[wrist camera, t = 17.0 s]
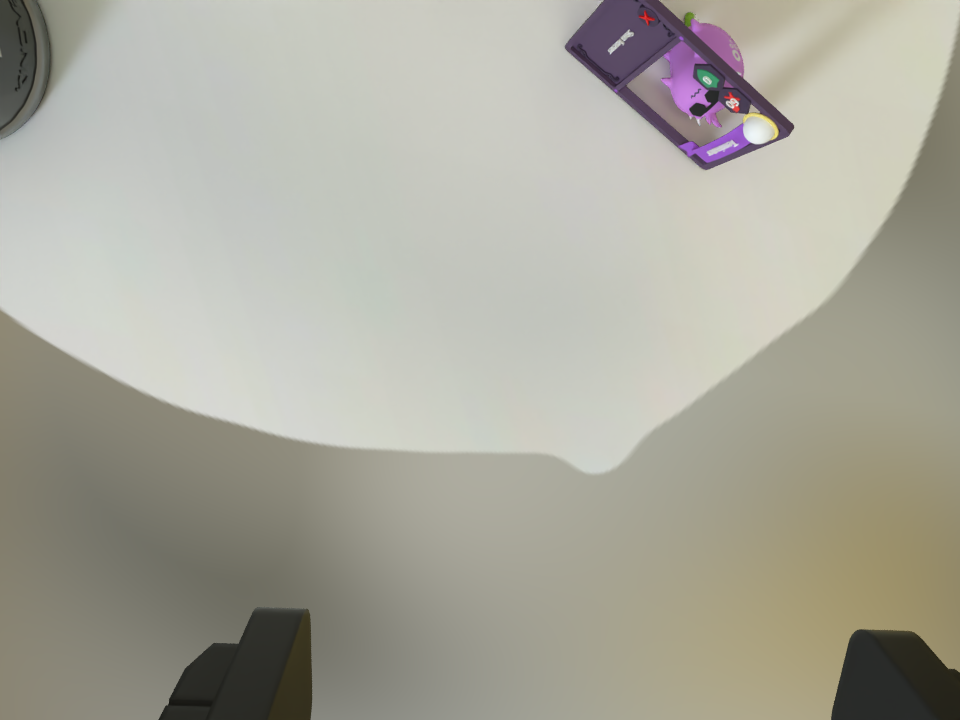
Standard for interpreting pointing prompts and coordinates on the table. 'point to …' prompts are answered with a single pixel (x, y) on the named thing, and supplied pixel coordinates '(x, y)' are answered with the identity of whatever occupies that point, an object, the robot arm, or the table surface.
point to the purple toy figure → (678, 74)
